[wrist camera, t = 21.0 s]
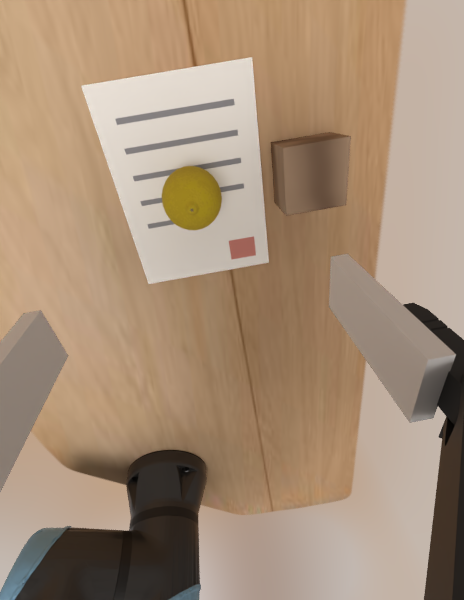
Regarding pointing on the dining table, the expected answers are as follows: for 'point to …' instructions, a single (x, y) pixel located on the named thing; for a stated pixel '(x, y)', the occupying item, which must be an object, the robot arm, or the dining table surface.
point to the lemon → (191, 198)
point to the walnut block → (310, 172)
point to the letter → (185, 163)
